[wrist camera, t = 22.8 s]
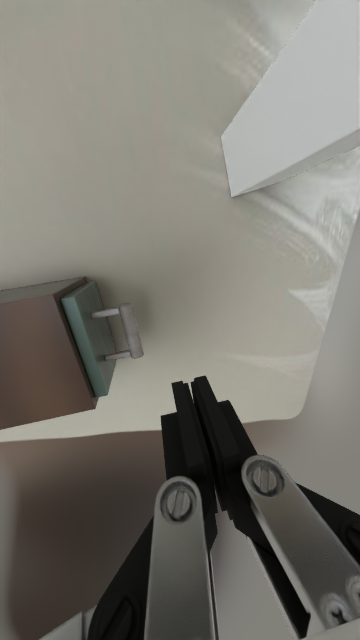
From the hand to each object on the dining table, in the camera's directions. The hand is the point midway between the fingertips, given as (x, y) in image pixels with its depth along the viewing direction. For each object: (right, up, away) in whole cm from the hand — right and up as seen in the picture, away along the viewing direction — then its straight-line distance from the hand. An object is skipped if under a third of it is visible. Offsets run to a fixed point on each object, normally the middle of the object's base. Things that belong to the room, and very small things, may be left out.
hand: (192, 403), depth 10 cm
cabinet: (-18, +3, +17) cm, 25 cm away
